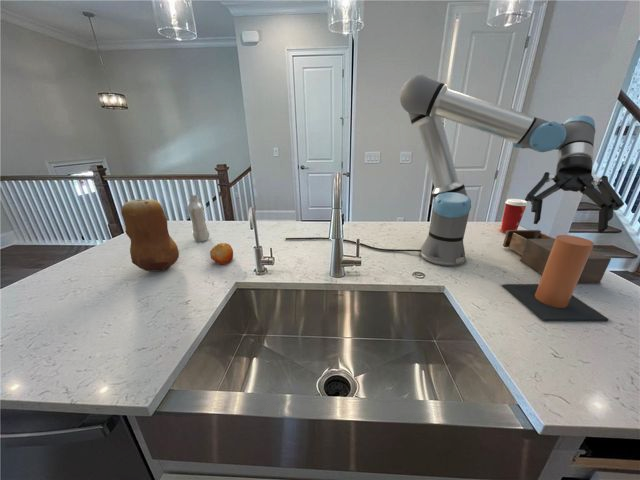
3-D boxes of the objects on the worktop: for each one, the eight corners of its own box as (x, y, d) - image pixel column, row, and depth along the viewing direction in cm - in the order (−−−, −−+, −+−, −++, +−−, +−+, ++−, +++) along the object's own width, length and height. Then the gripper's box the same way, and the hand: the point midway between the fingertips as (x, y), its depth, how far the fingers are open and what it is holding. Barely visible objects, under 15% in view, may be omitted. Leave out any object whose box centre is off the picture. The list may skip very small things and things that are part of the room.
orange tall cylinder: (536, 302, 70) (559, 242, 64) (533, 290, 76) (553, 233, 69) (570, 310, 67) (598, 247, 60) (564, 297, 73) (589, 237, 66)
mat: (543, 321, 65) (543, 319, 64) (502, 285, 79) (502, 284, 79) (607, 320, 64) (608, 319, 64) (554, 285, 79) (555, 284, 79)
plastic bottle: (213, 239, 117) (205, 195, 109) (199, 244, 112) (190, 198, 104) (204, 236, 120) (196, 193, 112) (191, 241, 115) (181, 196, 107)
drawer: (496, 241, 108) (500, 226, 106) (525, 241, 108) (530, 226, 106) (528, 262, 91) (534, 244, 89) (564, 262, 91) (571, 244, 88)
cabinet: (519, 260, 95) (526, 238, 91) (557, 260, 94) (565, 238, 91) (555, 283, 80) (565, 258, 77) (599, 283, 80) (611, 258, 77)
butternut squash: (174, 256, 101) (158, 192, 91) (186, 268, 92) (170, 199, 82) (132, 268, 92) (109, 199, 82) (141, 283, 83) (117, 207, 73)
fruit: (242, 253, 99) (232, 241, 93) (231, 271, 95) (219, 259, 89) (226, 250, 102) (215, 237, 96) (214, 266, 98) (202, 255, 92)
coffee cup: (522, 235, 117) (532, 203, 111) (502, 234, 118) (511, 202, 113) (513, 229, 124) (522, 198, 119) (494, 228, 126) (502, 197, 120)
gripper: (626, 174, 73) (624, 240, 67) (518, 168, 85) (509, 224, 79) (644, 156, 67) (644, 227, 61) (525, 152, 79) (516, 212, 73)
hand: (568, 226), depth 70 cm, fingers open, 13 cm apart
